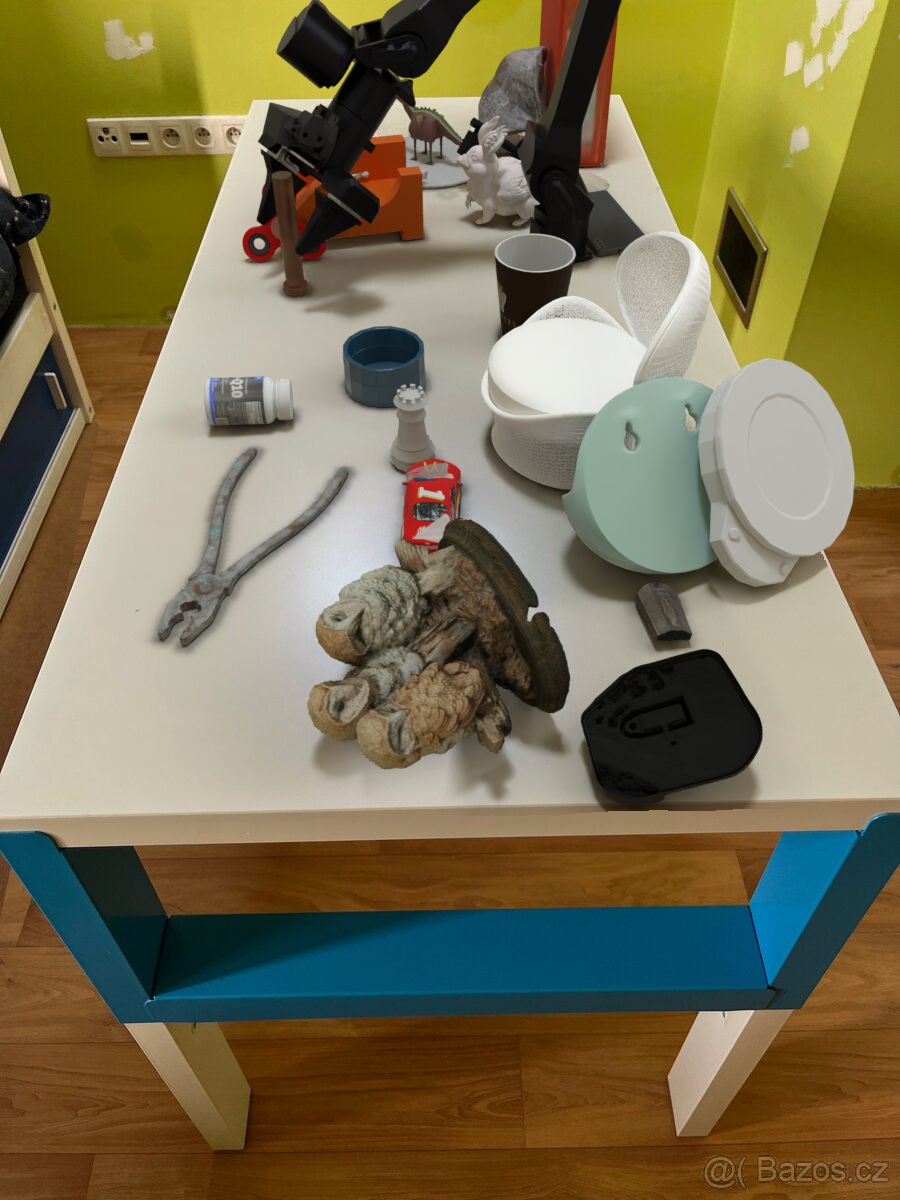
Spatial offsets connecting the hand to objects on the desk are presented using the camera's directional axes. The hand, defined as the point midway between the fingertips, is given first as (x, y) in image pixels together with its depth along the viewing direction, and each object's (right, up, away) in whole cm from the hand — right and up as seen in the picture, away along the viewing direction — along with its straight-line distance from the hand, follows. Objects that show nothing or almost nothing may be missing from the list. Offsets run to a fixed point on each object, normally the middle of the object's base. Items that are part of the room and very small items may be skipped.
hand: (278, 238), depth 114 cm
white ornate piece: (+22, +14, +26) cm, 36 cm away
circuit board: (+27, +28, +35) cm, 52 cm away
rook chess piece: (+16, -28, -17) cm, 37 cm away
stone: (+35, +19, +24) cm, 47 cm away
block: (+37, -43, -32) cm, 66 cm away
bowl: (+13, -19, -8) cm, 24 cm away
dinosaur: (+17, +22, +31) cm, 42 cm away
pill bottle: (-5, -22, -15) cm, 27 cm away
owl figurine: (+25, -43, -40) cm, 63 cm away
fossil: (+25, +31, +25) cm, 48 cm away
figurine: (+28, +10, +19) cm, 35 cm away
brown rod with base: (+1, -4, +6) cm, 7 cm away
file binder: (+38, +27, +36) cm, 58 cm away
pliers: (+5, -28, -17) cm, 33 cm away
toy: (-1, +6, +9) cm, 10 cm away
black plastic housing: (+35, -50, -44) cm, 76 cm away
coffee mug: (+29, -11, 0) cm, 31 cm away
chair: (+33, -26, -15) cm, 44 cm away
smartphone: (+38, +14, +21) cm, 45 cm away
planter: (+40, -39, -27) cm, 62 cm away
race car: (+18, -35, -23) cm, 45 cm away
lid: (+47, -31, -28) cm, 63 cm away
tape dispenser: (+6, +8, +17) cm, 20 cm away
